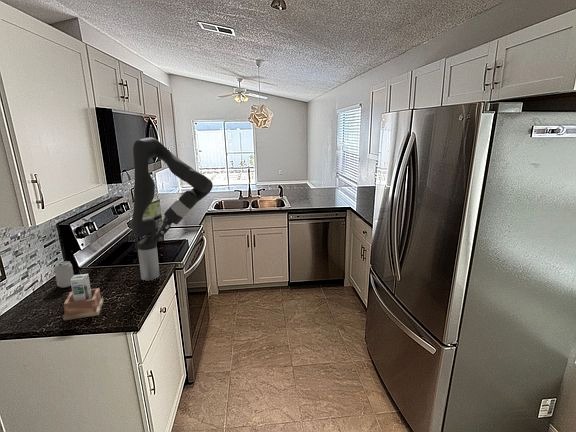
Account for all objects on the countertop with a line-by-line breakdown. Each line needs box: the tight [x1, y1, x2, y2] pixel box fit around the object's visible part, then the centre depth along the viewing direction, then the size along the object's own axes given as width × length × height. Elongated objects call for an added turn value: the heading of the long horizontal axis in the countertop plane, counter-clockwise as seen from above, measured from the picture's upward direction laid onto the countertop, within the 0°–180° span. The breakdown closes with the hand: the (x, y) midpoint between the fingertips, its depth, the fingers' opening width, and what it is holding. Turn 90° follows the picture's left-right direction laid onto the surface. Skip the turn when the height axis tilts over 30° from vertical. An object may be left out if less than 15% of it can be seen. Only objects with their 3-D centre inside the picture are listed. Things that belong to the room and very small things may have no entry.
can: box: [53, 260, 75, 288], centre depth 169 cm, size 8×8×12 cm
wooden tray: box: [62, 287, 104, 321], centre depth 146 cm, size 13×13×7 cm
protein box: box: [143, 198, 162, 220], centre depth 293 cm, size 10×16×16 cm
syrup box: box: [70, 273, 92, 301], centre depth 145 cm, size 6×6×14 cm
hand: (152, 238), depth 147 cm, fingers open, 8 cm apart
